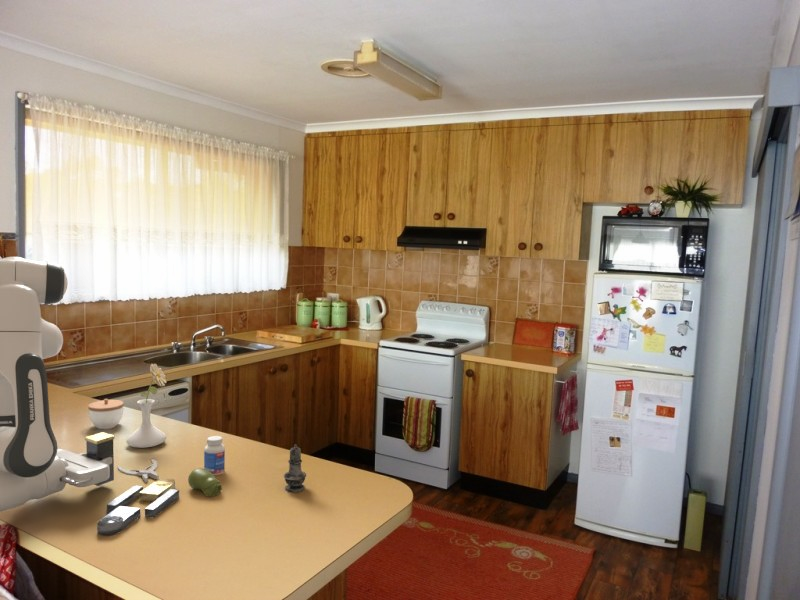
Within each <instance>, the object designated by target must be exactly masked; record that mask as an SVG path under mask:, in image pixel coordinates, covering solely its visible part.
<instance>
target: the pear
mask: <svg viewBox="0 0 800 600" xmlns="http://www.w3.org/2000/svg"><path fill="white" fill-rule="evenodd" d="M187 480H188V481H187V482H188V485H189V487H190V488H191V489H193V490H195V491H200V490H201V491H202V492H203V495H205V497H208V498H212V497H214V496H216V495H219V494H221V493H222V492H221V490H223V489H222V486H223V485H222V484H221V482H220V480H218V478H216V477H215V476H214V475H213V474H212V473H211V472H210V471H208V470H206V469H204V467H203V468H202V467H200V468H199V467H198V468H195V469H193V470H192V471H191V472H190V473H189V475H188V479H187Z"/></svg>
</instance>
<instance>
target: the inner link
mask: <svg viewBox="0 0 800 600" xmlns="http://www.w3.org/2000/svg"><path fill="white" fill-rule="evenodd" d="M170 489H175V490H176V480H175V479H174V478H171V477H164V478H159V479H158V480H155V481H153V482H152V483H151V484H150V485H148V486H147V487H145V488H143V490H142V491H141V492H139V497H138V498H139V501H143V502H150V501H153V502H154V501H156V500H157V499H158V498H160V497H161V496H162V495H164V494H165V493H166V492H168V491H169V490H170ZM153 502H152V503H153Z"/></svg>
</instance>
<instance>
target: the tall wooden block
mask: <svg viewBox="0 0 800 600" xmlns="http://www.w3.org/2000/svg"><path fill="white" fill-rule="evenodd" d="M84 440H85V441H86V442H85V443H86V453H87V457H88V458H90V459H93V460H96V461H101V460H102V458H104V457H107V456H108V457H112V464H110V465H109V467H110V477H109V478H108V480H106V481H103V482H100V483H97V484H94V485H93V486H96V487H99V486H102V485H104V484H108V483H109V482H112V481H115V471H114V470H115V466H114V465H115V464H114V463H115V461H114V440H115V435H113V434H110V433H107V432H103V431H102V432H99V433H95V434H92V435H88V436H86V437H85V436H84Z"/></svg>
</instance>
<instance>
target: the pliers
mask: <svg viewBox="0 0 800 600" xmlns="http://www.w3.org/2000/svg"><path fill="white" fill-rule="evenodd" d="M150 461H152V462H151V465H148V466H147V467H145V469H144V470H143V469H126V468H124V467H122V466H121V465H117V469H119V470H120V471H119V470H118V471H119V472H120V473H122V472H124V473H123V474H125V473H126V474H125V475H129V474H131V475H130V476H137V475H139V476H138V477H141V478H143V479H142V480H143V481H145V482H144V483H148V481H149V480H148V478H151V477H152V478H151V479H153V478H154V480H155V479H158V480H159V479H160V478H159V473H158V472H156V470H157V468H158V461H156V459H154V458H151V459H150ZM152 463H153V464H152ZM151 466H152V467H151ZM149 467H150V468H149ZM147 468H148V469H147ZM146 469H147V470H146ZM155 469H156V470H155ZM136 471H139V472H136ZM149 476H150V477H149Z"/></svg>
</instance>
